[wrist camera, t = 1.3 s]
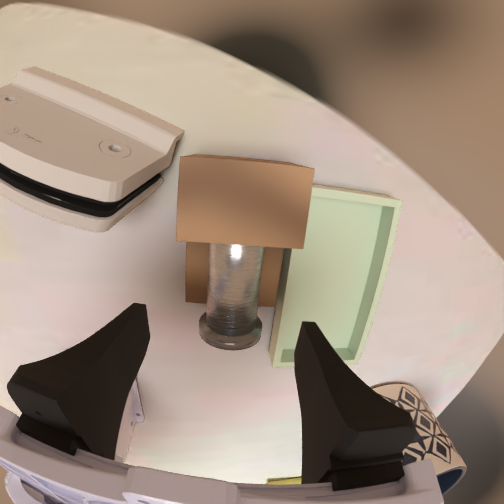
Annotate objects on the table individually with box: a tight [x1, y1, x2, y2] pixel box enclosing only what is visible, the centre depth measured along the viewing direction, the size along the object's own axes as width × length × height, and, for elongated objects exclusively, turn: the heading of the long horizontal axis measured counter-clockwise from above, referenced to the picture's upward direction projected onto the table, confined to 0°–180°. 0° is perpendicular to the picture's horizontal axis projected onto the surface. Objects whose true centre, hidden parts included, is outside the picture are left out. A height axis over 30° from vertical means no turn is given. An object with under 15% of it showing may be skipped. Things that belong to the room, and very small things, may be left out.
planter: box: [373, 384, 467, 496], centre depth 26 cm, size 16×16×14 cm
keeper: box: [176, 154, 314, 307], centre depth 20 cm, size 11×7×7 cm, turn 174°
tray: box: [269, 184, 402, 368], centre depth 24 cm, size 15×8×2 cm, turn 174°
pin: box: [199, 243, 265, 350], centre depth 20 cm, size 11×5×5 cm, turn 174°
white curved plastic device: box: [0, 67, 184, 232], centre depth 16 cm, size 17×5×10 cm, turn 60°
